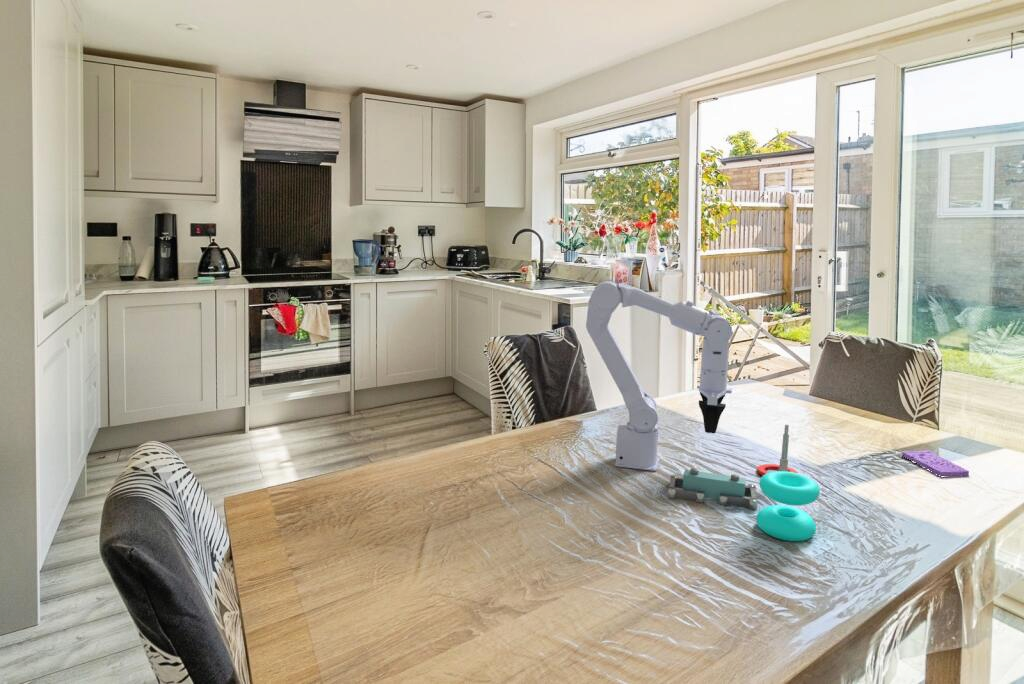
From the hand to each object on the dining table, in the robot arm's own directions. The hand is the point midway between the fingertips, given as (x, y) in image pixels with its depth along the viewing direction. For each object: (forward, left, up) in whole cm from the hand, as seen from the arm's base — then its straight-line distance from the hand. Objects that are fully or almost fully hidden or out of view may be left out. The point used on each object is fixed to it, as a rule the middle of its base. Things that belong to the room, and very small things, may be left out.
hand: (710, 427), depth 140 cm
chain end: (-4, -15, -10) cm, 18 cm away
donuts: (+14, -26, -10) cm, 31 cm away
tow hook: (+15, +1, -10) cm, 18 cm away
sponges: (+50, +18, -11) cm, 54 cm away
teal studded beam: (+1, -15, -10) cm, 18 cm away
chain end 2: (+6, -15, -10) cm, 19 cm away
